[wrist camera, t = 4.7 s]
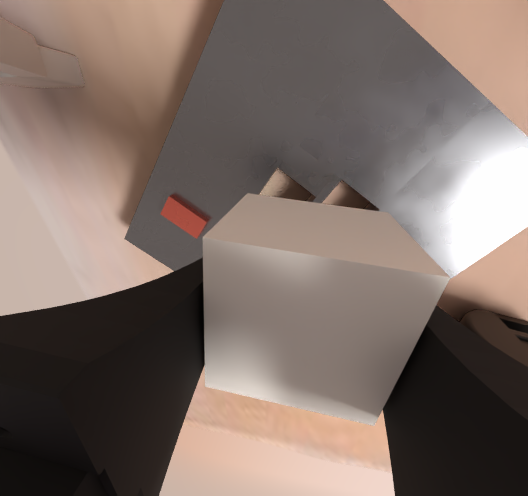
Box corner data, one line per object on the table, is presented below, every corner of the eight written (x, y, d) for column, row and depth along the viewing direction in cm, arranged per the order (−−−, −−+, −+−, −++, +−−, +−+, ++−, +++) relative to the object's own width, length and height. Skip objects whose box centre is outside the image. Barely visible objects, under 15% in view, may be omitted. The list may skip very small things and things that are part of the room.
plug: (376, 200, 10) (450, 277, 5) (346, 299, 13) (373, 425, 7) (256, 184, 11) (202, 237, 5) (248, 281, 13) (205, 386, 8)
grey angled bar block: (34, 88, 17) (-158, 64, 10) (22, 57, 16) (-194, 8, 9) (124, 85, 16) (-20, 58, 9) (117, 53, 15) (-46, -6, 8)
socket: (549, 180, 14) (591, 190, 12) (321, 348, 24) (322, 372, 21) (275, -74, 12) (267, -119, 10) (140, 228, 21) (120, 241, 19)
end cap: (445, 294, 19) (505, 372, 13) (540, 318, 19) (648, 411, 13) (389, 373, 24) (415, 456, 18) (464, 394, 23) (516, 487, 17)
